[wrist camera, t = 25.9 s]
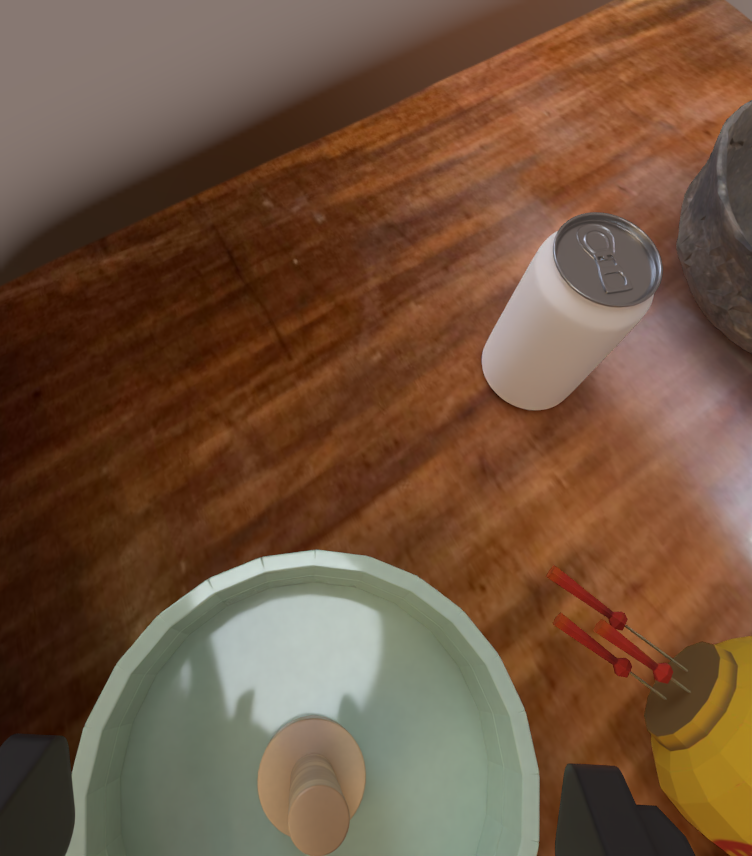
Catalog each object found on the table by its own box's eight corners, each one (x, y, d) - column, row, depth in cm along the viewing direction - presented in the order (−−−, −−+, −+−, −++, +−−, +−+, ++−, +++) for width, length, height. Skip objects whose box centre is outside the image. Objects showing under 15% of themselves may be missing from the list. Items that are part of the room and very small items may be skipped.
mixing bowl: (108, 1067, 27) (59, 1168, 21) (106, 598, 34) (68, 582, 28) (539, 955, 30) (594, 1018, 24) (457, 549, 37) (485, 526, 31)
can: (553, 320, 44) (640, 198, 33) (587, 403, 41) (692, 303, 30) (467, 335, 42) (527, 213, 31) (497, 421, 40) (572, 323, 29)
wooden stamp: (265, 839, 30) (246, 932, 19) (255, 724, 32) (233, 749, 21) (368, 817, 31) (408, 895, 20) (353, 707, 32) (382, 721, 21)
